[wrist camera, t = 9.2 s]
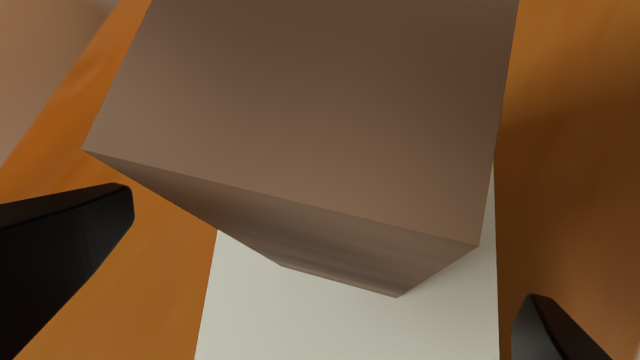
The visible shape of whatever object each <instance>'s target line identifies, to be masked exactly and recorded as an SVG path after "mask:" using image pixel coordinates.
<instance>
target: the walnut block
mask: <svg viewBox="0 0 640 360" xmlns="http://www.w3.org/2000/svg"><path fill="white" fill-rule="evenodd" d="M518 4H519V0H152V2H151V4H150V6H149V8H148V10H147V12H146V14H145V16H144V18H143V20H142V23H141V25H140V27H139V29H138V31H137V33H136V35H135V37H134V39H133V41H132V43H131V45H130V48H129V50H128V52H127V54H126V56H125V58H124V60H123V62H122V64H121V66H120V68H119V70H118V73H117V75H116V77H115V79H114V81H113V83H112V85H111V87H110V89H109V91H108V93H107V95H106V98H105V100H104V102H103V104H102V106H101V108H100V110H99V112H98V114H97V116H96V118H95V120H94V123H93V125H92V127H91V129H90V131H89V133H88V135H87V137H86V139H85V141H84V143H83V145H82V147H81V150H83V151H85V152H86V153H88V154H90V155H92V156H93V157H95V158H97V159H98V160H100V161H102V162H104V163H105V164H107V165H109V166H110V167H112V168H114V169H116V170H117V171H119V172H121V173H122V174H124V175H126V176H127V177H129V178H131V179H133V180H134V181H136V182H138V183H139V184H141V185H143V186H145V187H146V188H148V189H150V190H151V191H153V192H155V193H157V194H158V195H160V196H162V197H163V198H165V199H167V200H169V201H170V202H172V203H174V204H175V205H177V206H179V207H180V208H182V209H184V210H186V211H187V212H189V213H191V214H192V215H194V216H196V217H198V218H199V219H201V220H203V221H204V222H206V223H208V224H210V225H211V226H213V227H215V228H216V229H218V230H220V231H222V232H223V233H225V234H227V235H228V236H230V237H232V238H234V239H235V240H237V241H239V242H240V243H242V244H244V245H245V246H247V247H249V248H251V249H252V250H254V251H256V252H257V253H259V254H261V255H263V256H264V257H266V258H268V259H269V260H271V261H273V262H275V263H276V264H278V265H280V266H281V267H285V268H288V269H292V270H296V271H299V272H303V273H306V274H310V275H314V276H317V277H321V278H324V279H328V280H332V281H335V282H339V283H342V284H346V285H350V286H353V287H357V288H361V289H364V290H368V291H371V292H375V293H379V294H382V295H386V296H389V297H393V298H398V297H400V296H401V295H403V294H404V293H406V292H408V291H409V290H411V289H412V288H414V287H416V286H417V285H419V284H420V283H422V282H423V281H425V280H427V279H428V278H430V277H431V276H433V275H435V274H436V273H438V272H439V271H441V270H442V269H444V268H446V267H447V266H449V265H450V264H452V263H453V262H455V261H457V260H458V259H460V258H461V257H463V256H465V255H466V254H468V253H469V252H471V251H472V250H474V249H476V248H477V247H479V244H480V238H481V232H482V226H483V220H484V213H485V207H486V201H487V195H488V189H489V183H490V176H491V170H492V164H493V158H494V152H495V146H496V140H497V133H498V127H499V121H500V115H501V109H502V103H503V96H504V90H505V84H506V78H507V72H508V66H509V60H510V53H511V47H512V41H513V35H514V29H515V23H516V16H517V10H518Z"/></svg>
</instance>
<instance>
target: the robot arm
mask: <svg viewBox="0 0 640 360" xmlns="http://www.w3.org/2000/svg"><path fill="white" fill-rule="evenodd" d="M134 218H135V212H134V203H133V194H132V190H131V188H130V187H128V186H126V185H122V184H119V183H107V184H102V185H97V186H91V187H86V188H81V189H76V190H71V191H66V192H61V193H56V194H50V195H45V196H40V197H35V198H30V199H25V200H20V201H14V202H9V203H4V204H0V360H13V359H14V358H15V356H16V355H17V354H18V353H19V352H20V351H21V350H22V349H23V348H24V347H25V346H26V345H27V344H28V343H29V342H30V341H31V340H32V339H33V338H34V336H35V335H36V334H37V333H38V332H39V331H40V330H41V329H42V328H43V327H44V326H45V325H46V324H47V323H48V322H49V321H50V320H51V319H52V318H53V316H54V315H55V314H56V313H57V312H58V311H59V310H60V309H61V308H62V307H63V306H64V305H65V304H66V303H67V302H68V301H69V300H70V299H71V298H72V296H73V295H74V294H75V293H76V292H77V291H78V290H79V289H80V288H81V287H82V286H83V285H84V284H85V283H86V282H87V281H88V280H89V278H90V277H91V276H92V275H93V274H94V273H95V272H96V270H97V269H98V268H99V267H100V266H101V264H102V263H103V262H104V260H105V259H106V258H107V257H108V255H109V254H110V253H111V251H112V250H113V249H114V248H115V246H116V245H117V244H118V242H119V241H120V240H121V239H122V237H123V236H124V235H125V234H126V232H127V231H128V230H129V228H130V227H131V226H132V224H133V222H134ZM511 342H512V360H613V359H612V358H611V357H610V356H609V355H608V354H607V353H606V352H605V351H604V350H603V349H602V348H601V347H600V346H599V345H598V344H597V343H596V342H595V341H594V340H593V339H592V338H591V337H590V336H589V335H588V334H587V333H586V332H585V331H584V330H583V329H582V328H581V327H580V326H579V325H578V324H577V323H576V322H575V321H574V320H573V319H572V318H571V317H570V316H569V315H568V314H567V313H566V312H565V311H564V310H563V309H562V308H561V307H560V306H559V305H558V304H557V303H556V302H555V301H554V300H553V299H551V298H549V297H545V296H542V295H538V294H534V293H530V294H528V295H527V296H526V297H525V299H524V301H523V303H522V305H521V307H520V309H519V312H518V314H517V316H516V318H515V320H514V322H513V326H512V332H511Z"/></svg>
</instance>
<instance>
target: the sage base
mask: <svg viewBox="0 0 640 360" xmlns="http://www.w3.org/2000/svg"><path fill="white" fill-rule="evenodd" d="M194 360H499V328H498V296H497V264H496V233H495V201H494V169H493V164H492V170H491V176H490V183H489V189H488V195H487V201H486V207H485V213H484V220H483V226H482V232H481V238H480V244H479V247H477V248H476V249H474V250H472V251H471V252H469V253H468V254H466V255H465V256H463V257H461V258H460V259H458V260H457V261H455V262H453V263H452V264H450V265H449V266H447V267H446V268H444V269H442V270H441V271H439V272H438V273H436V274H435V275H433V276H431V277H430V278H428V279H427V280H425V281H423V282H422V283H420V284H419V285H417V286H416V287H414V288H412V289H411V290H409V291H408V292H406V293H404V294H403V295H401V296H400V297H398V298H393V297H389V296H386V295H382V294H379V293H375V292H371V291H368V290H364V289H361V288H357V287H353V286H350V285H346V284H342V283H339V282H335V281H332V280H328V279H324V278H321V277H317V276H314V275H310V274H306V273H303V272H299V271H296V270H292V269H288V268H285V267H281V266H280V265H278V264H276V263H275V262H273V261H271V260H269V259H268V258H266V257H264V256H263V255H261V254H259V253H257V252H256V251H254V250H252V249H251V248H249V247H247V246H245V245H244V244H242V243H240V242H239V241H237V240H235V239H234V238H232V237H230V236H228V235H227V234H225V233H223V232H222V231H220V230H218V233H217V238H216V244H215V249H214V255H213V260H212V265H211V271H210V276H209V282H208V287H207V293H206V298H205V304H204V309H203V315H202V320H201V326H200V331H199V337H198V342H197V348H196V353H195V359H194Z"/></svg>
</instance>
